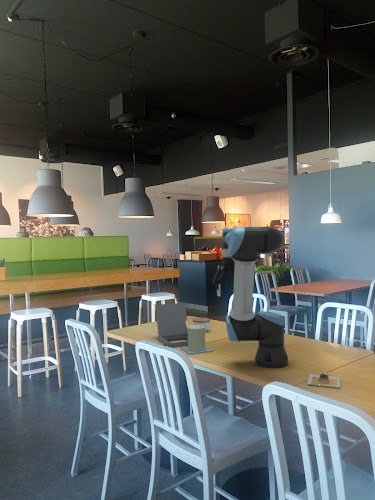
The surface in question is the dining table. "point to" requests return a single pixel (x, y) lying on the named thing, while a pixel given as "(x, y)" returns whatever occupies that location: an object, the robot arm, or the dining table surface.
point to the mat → (196, 351)
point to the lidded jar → (202, 322)
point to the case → (172, 324)
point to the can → (196, 338)
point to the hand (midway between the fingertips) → (230, 295)
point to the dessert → (324, 380)
